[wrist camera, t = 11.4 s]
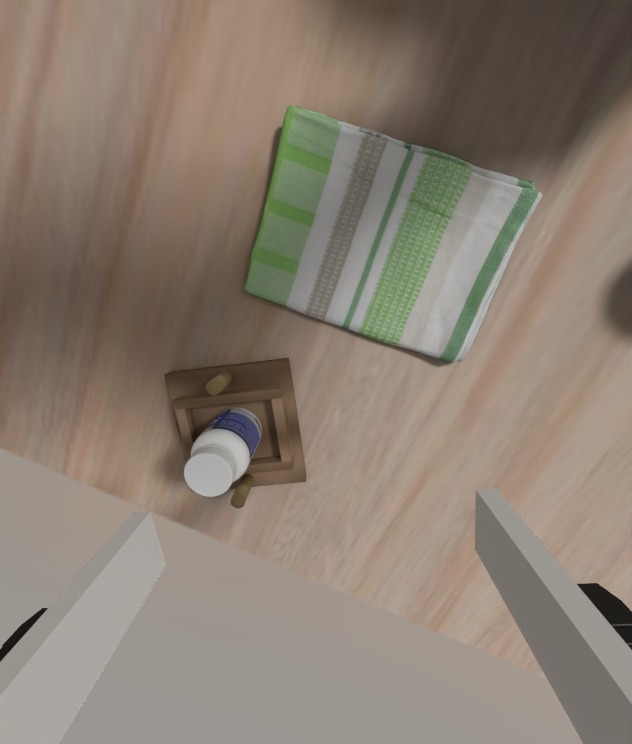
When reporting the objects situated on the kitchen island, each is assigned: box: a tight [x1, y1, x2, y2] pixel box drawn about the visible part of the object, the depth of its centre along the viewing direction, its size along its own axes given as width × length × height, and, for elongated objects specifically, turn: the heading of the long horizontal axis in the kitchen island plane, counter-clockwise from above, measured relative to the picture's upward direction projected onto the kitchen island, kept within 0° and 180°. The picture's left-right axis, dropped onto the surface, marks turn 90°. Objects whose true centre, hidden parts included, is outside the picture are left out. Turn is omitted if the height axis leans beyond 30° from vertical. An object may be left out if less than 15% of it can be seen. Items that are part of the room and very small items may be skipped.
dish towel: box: [244, 106, 543, 363], centre depth 28 cm, size 17×23×4 cm
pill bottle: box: [184, 407, 262, 497], centre depth 29 cm, size 5×5×9 cm
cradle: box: [165, 358, 306, 508], centre depth 32 cm, size 14×13×5 cm
